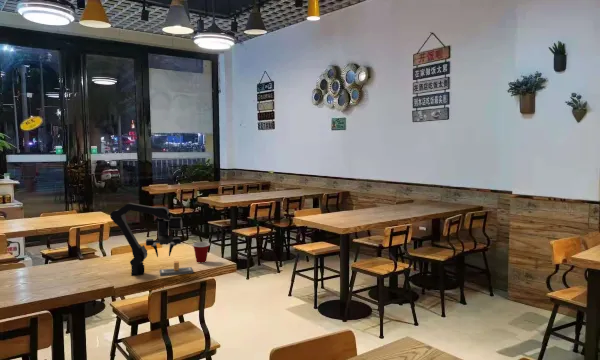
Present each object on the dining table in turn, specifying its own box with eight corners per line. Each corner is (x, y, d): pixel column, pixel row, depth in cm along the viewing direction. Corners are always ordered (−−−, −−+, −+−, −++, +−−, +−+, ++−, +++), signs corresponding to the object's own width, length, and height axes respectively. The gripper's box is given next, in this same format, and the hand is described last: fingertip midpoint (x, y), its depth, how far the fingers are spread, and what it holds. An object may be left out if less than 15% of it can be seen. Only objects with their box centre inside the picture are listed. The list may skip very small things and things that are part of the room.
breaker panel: (160, 275, 248) (160, 273, 248) (159, 272, 255) (159, 269, 255) (193, 273, 254) (193, 270, 254) (191, 269, 262) (191, 266, 262)
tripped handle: (174, 270, 252) (174, 262, 252) (173, 268, 256) (173, 261, 256) (178, 270, 253) (178, 262, 253) (178, 268, 257) (178, 260, 257)
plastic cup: (194, 265, 272) (193, 245, 272) (191, 261, 282) (191, 242, 282) (211, 263, 276) (211, 244, 276) (208, 259, 286) (208, 241, 286)
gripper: (146, 232, 240) (146, 261, 241) (181, 230, 247) (181, 258, 247) (145, 229, 250) (146, 256, 251) (179, 227, 257) (179, 254, 258)
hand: (163, 256), depth 252 cm, fingers open, 6 cm apart
